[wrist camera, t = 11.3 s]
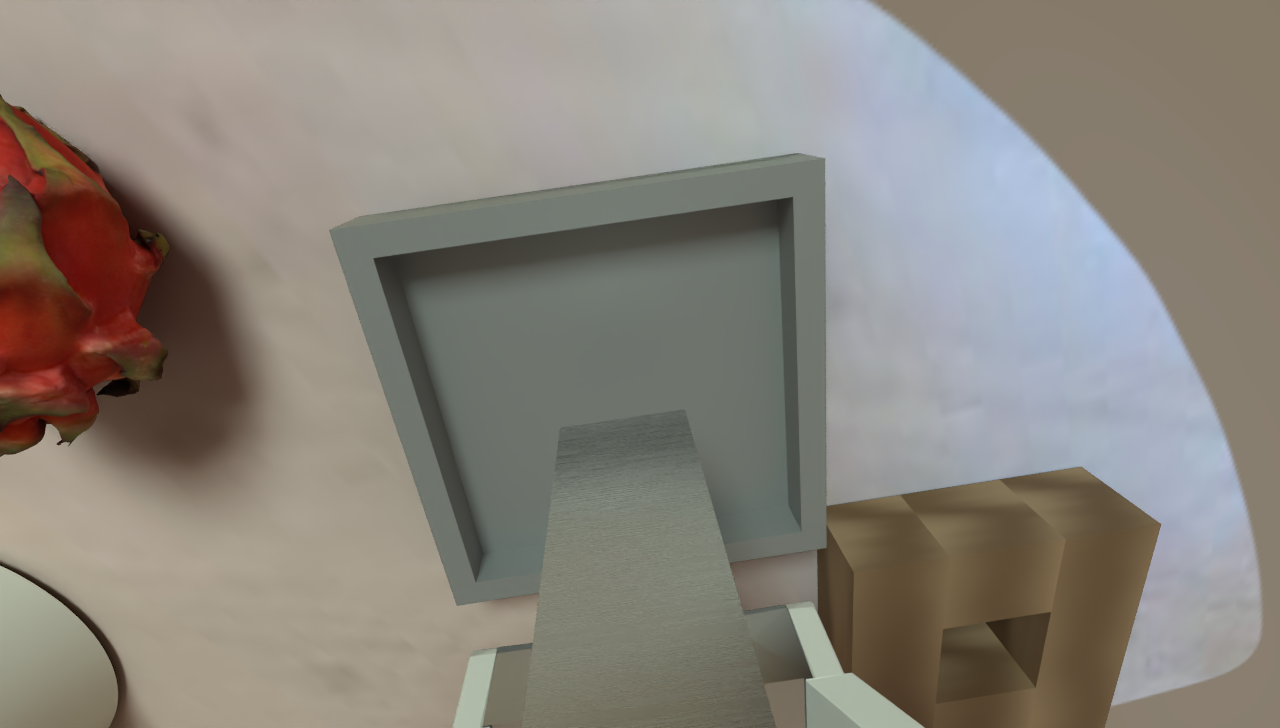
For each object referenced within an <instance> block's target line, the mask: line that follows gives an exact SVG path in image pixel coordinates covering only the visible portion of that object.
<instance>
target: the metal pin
mask: <svg viewBox="0 0 1280 728" xmlns="http://www.w3.org/2000/svg"><path fill="white" fill-rule="evenodd" d="M522 728H776V724H775V721H774V717H773V714H772V711H771V707H770V704H769V700H768V697H767V693H766V690H765V686H764V683H763V679H762V676H761V672H760V669H759V665H758V662H757V658H756V655H755V651H754V648H753V644H752V641H751V637H750V634H749V630H748V627H747V623H746V620H745V616H744V613H743V609H742V606H741V602H740V599H739V596H738V592H737V589H736V585H735V582H734V578H733V575H732V571H731V568H730V564H729V561H728V557H727V554H726V550H725V547H724V543H723V540H722V536H721V533H720V529H719V526H718V522H717V519H716V515H715V512H714V508H713V505H712V501H711V498H710V494H709V491H708V487H707V484H706V481H705V477H704V474H703V470H702V467H701V463H700V460H699V456H698V453H697V449H696V446H695V442H694V439H693V435H692V432H691V428H690V425H689V421H688V418H687V414H686V411H685V409H683V410H676V411H669V412H662V413H656V414H649V415H642V416H635V417H629V418H622V419H615V420H608V421H601V422H595V423H588V424H581V425H574V426H567V427H561V428H560V432H559V440H558V448H557V456H556V464H555V472H554V480H553V488H552V496H551V504H550V511H549V519H548V527H547V535H546V543H545V551H544V559H543V567H542V575H541V583H540V591H539V599H538V606H537V614H536V622H535V630H534V638H533V646H532V654H531V662H530V670H529V678H528V686H527V694H526V701H525V709H524V717H523V725H522Z"/></svg>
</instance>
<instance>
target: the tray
mask: <svg viewBox="0 0 1280 728" xmlns="http://www.w3.org/2000/svg"><path fill="white" fill-rule="evenodd" d="M329 232H330V235H331V237H332V240H333V243H334V246H335V249H336V252H337V255H338V258H339V261H340V264H341V267H342V270H343V273H344V276H345V279H346V282H347V284H348V287H349V290H350V293H351V296H352V299H353V302H354V305H355V308H356V311H357V314H358V317H359V320H360V323H361V326H362V329H363V331H364V334H365V337H366V340H367V343H368V346H369V349H370V352H371V355H372V358H373V361H374V364H375V367H376V370H377V373H378V376H379V378H380V381H381V384H382V387H383V390H384V393H385V396H386V399H387V402H388V405H389V408H390V411H391V414H392V417H393V420H394V423H395V425H396V428H397V431H398V434H399V437H400V440H401V443H402V446H403V449H404V452H405V455H406V458H407V461H408V464H409V467H410V470H411V472H412V475H413V478H414V481H415V484H416V487H417V490H418V493H419V496H420V499H421V502H422V505H423V508H424V511H425V514H426V517H427V519H428V522H429V525H430V528H431V531H432V534H433V537H434V540H435V543H436V546H437V549H438V552H439V555H440V558H441V561H442V564H443V566H444V569H445V572H446V575H447V578H448V581H449V584H450V587H451V590H452V593H453V596H454V599H455V602H456V605H457V606H458V605H465V604H471V603H477V602H484V601H490V600H497V599H503V598H509V597H516V596H522V595H529V594H535V593H539V591H540V583H541V575H542V567H543V559H544V551H545V543H546V535H547V527H548V519H549V511H550V504H551V496H552V488H553V480H554V472H555V464H556V456H557V448H558V440H559V432H560V428H561V427H567V426H574V425H581V424H588V423H595V422H601V421H608V420H615V419H622V418H629V417H635V416H642V415H649V414H656V413H662V412H669V411H676V410H683V409H685V411H686V414H687V418H688V421H689V425H690V428H691V432H692V435H693V439H694V442H695V446H696V449H697V453H698V456H699V460H700V463H701V467H702V470H703V474H704V477H705V481H706V484H707V487H708V491H709V494H710V498H711V501H712V505H713V508H714V512H715V515H716V519H717V522H718V526H719V529H720V533H721V536H722V540H723V543H724V547H725V550H726V554H727V557H728V561H729V563H733V562H739V561H746V560H752V559H759V558H765V557H771V556H778V555H784V554H791V553H797V552H803V551H810V550H816V549H823V548H827V540H826V292H825V158H821V157H816V156H810V155H805V154H800V153H796V154H789V155H782V156H775V157H769V158H762V159H755V160H748V161H741V162H734V163H727V164H720V165H713V166H706V167H699V168H693V169H686V170H679V171H672V172H665V173H658V174H651V175H644V176H637V177H630V178H623V179H616V180H610V181H603V182H596V183H589V184H582V185H575V186H568V187H561V188H554V189H547V190H540V191H533V192H527V193H520V194H513V195H506V196H499V197H492V198H485V199H478V200H471V201H464V202H457V203H450V204H444V205H437V206H430V207H423V208H416V209H409V210H402V211H395V212H388V213H381V214H374V215H367V216H361V217H358V218H355V219H353V220H351V221H349V222H346V223H344V224H342V225H340V226H337V227H335V228H333V229H330V230H329Z"/></svg>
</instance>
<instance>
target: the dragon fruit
mask: <svg viewBox="0 0 1280 728" xmlns="http://www.w3.org/2000/svg"><path fill="white" fill-rule="evenodd" d="M88 162H89V159H88V158H87V156H86V155H84V154H83V153H82V152H81V151H80V150H79V149H77V148H76V147H74V146H72V145H70V144H68V143H67V142H66V141H65V140H63V139H62V138H61V137H60V136H59V135H58V134H56V133H55V132H54V131H52V130H51V129H49V128H47V127H46V126H44V125H43V124H41V123H40V122H38V121H37V120H36V119H34V118H33V117H32V116H31V115H30V114H29V113H28V112H27V111H26V110H25V109H24V108H22V107H18V106H11V105H10V104H8V103H7V102H5V101H4V100H3V98H2V96H1V94H0V457H1V456H2V455H4V454H7V455H9V454H16V453H19V452H21V451H24V450H26V449H28V448H30V447H32V446H34V445H36V444H38V443H39V442H40V441H41V440H42V438H43V437H44V434H45V428H46V424H52V425H53V426H55V427H56V428H57V430H58V431H59V433H60V436H61V438H62V440H61V441H60V442H58V443H57V445H61V443H63V442H70V444H71V443H72V442H73V441H74V440H75V438H76V437H77V436H78V435H80V434H81V433H83V432H84V431H86V430H88V429H89V428H90V427H91V426H92V425H93V423H94V422H95V420H96V417H97V414H98V413H99V407H98V403H97V400H96V396H95V392H94V390H93V386H95V385H96V384H98V383H100V382H102V381H108V380H112V381H111V382H110V383H109V384H108V385H107V386H105V387H104V388H102V390H101V391H100V392H99V393H98V394H97V395H102V394H104V395H110V396H115V397H119V396H124V395H128V394H135V393H136V392H138V391H139V387H140V380H149V381H151V380H159V379H161V378H162V372H163V363H164V361H165V359H166V358H167V355H168V349H167V348H166V347H165V346H164V345H162V344H161V343H160V341H158V340H157V339H156V338H154V337H152V334H151V333H150V332H149V331H148V330H147V329H146V328H143V327H141V326H140V325H139V324H138V323H137V322H136V318H137V316H138V313H139V310H140V308H141V306H142V303H143V301H144V298H145V295H146V292H147V290H148V287H149V284H150V281H151V278H152V276H153V275H154V274H155V273H156V272H157V271H158V270H159V268H160V267H161V265H162V263H163V262H164V259H165V255H166V254H167V253H168V251H169V250H170V246H169V244H168V242H167V240H166V239H165V237H164V236H163V235H161V234H160V233H158V232H156V234H154V233H151V232H148V231H145V230H140V229H138V234H137V237H136V239H135V240H134V241H133V240H131V238H130V236H129V226H128V222H127V220H126V219H125V217H124V216H123V214H122V211H121V208H120V206H119V204H118V203H117V201H116V200H115V199H114V198H113V197H112V196H111V195H110V194H109V192H108V191H107V189H106V188H105V184H104V182H103V179H102V176H101V175H100V174H98V173H96V172H95V171H94V170H93V169H92V168H90V167H89V166H88V165H87V163H88ZM161 250H162V251H161ZM70 444H69V445H70ZM68 447H69V446H68Z"/></svg>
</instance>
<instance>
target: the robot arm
mask: <svg viewBox="0 0 1280 728" xmlns="http://www.w3.org/2000/svg"><path fill="white" fill-rule="evenodd" d="M743 613H744V616H745V620H746V623H747V627H748V630H749V634H750V637H751V641H752V644H753V648H754V651H755V655H756V658H757V662H758V665H759V669H760V672H761V676H762V679H763V683H764V686H765V690H766V693H767V697H768V700H769V704H770V707H771V711H772V714H773V717H774V721H775V724H776V728H925V727H923V726H922V725H921V724H919V723H918V722H917V721H915V720H914V719H913V718H911V717H910V716H909V715H907V714H906V713H905V712H903V711H902V710H901V709H899V708H898V707H897V706H896V705H894V704H893V703H892V702H890V701H889V700H888V699H886V698H885V697H884V696H882V695H881V694H880V693H878V692H877V691H876V690H874V689H873V688H872V687H870V686H869V685H868V684H867V683H865V682H864V681H863V680H861V679H860V678H859V677H857V676H856V675H855V674H853V673H844V672H843V670H842V667H841V665H840V663H839V660H838V658H837V656H836V654H835V651H834V649H833V647H832V645H831V642H830V640H829V638H828V635H827V633H826V631H825V629H824V626H823V624H822V622H821V620H820V617H819V615H818V613H817V610H816V608H815V606H814V604H813V603H812V602H811V601H807V602H800V603H794V604H787V605H785V606H784V605H779V606H773V607H767V608H761V609H755V610H748V611H743ZM532 646H533V643H529V644H520V645H512V646H504V647H499V648H491V649H483V650H475V651H473V653H472V655H471V656H470V658H469V661H468V665H467V670H466V674H465V678H464V682H463V686H462V690H461V694H460V698H459V702H458V707H457V711H456V715H455V719H454V723H453V727H452V728H522V725H523V717H524V709H525V701H526V694H527V686H528V678H529V670H530V662H531V654H532ZM117 703H118V685H117V680H116V676H115V673H114V669H113V667H112V664H111V662H110V660H109V658H108V656H107V654H106V652H105V650H104V649H103V647H102V646H101V644H100V643H99V641H98V640H97V639H96V637H95V636H94V634H93V633H92V632H91V631H90V630H89V629H88V627H87V626H86V625H85V624H84V623H83V622H82V621H81V620H80V619H79V618H78V617H77V616H76V615H75V614H74V613H73V612H71V611H70V610H69V609H68V608H67V607H66V606H65V605H63V604H62V603H61V602H60V601H58V600H57V599H56V598H54V597H53V596H52V595H50V594H49V593H47V592H46V591H44V590H43V589H41V588H40V587H38V586H37V585H35V584H34V583H32V582H30V581H28V580H27V579H25V578H23V577H22V576H20V575H18V574H16V573H14V572H12V571H10V570H8V569H6V568H4V567H2V566H0V728H109V726H110V725H111V723H112V721H113V718H114V716H115V713H116V709H117Z"/></svg>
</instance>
